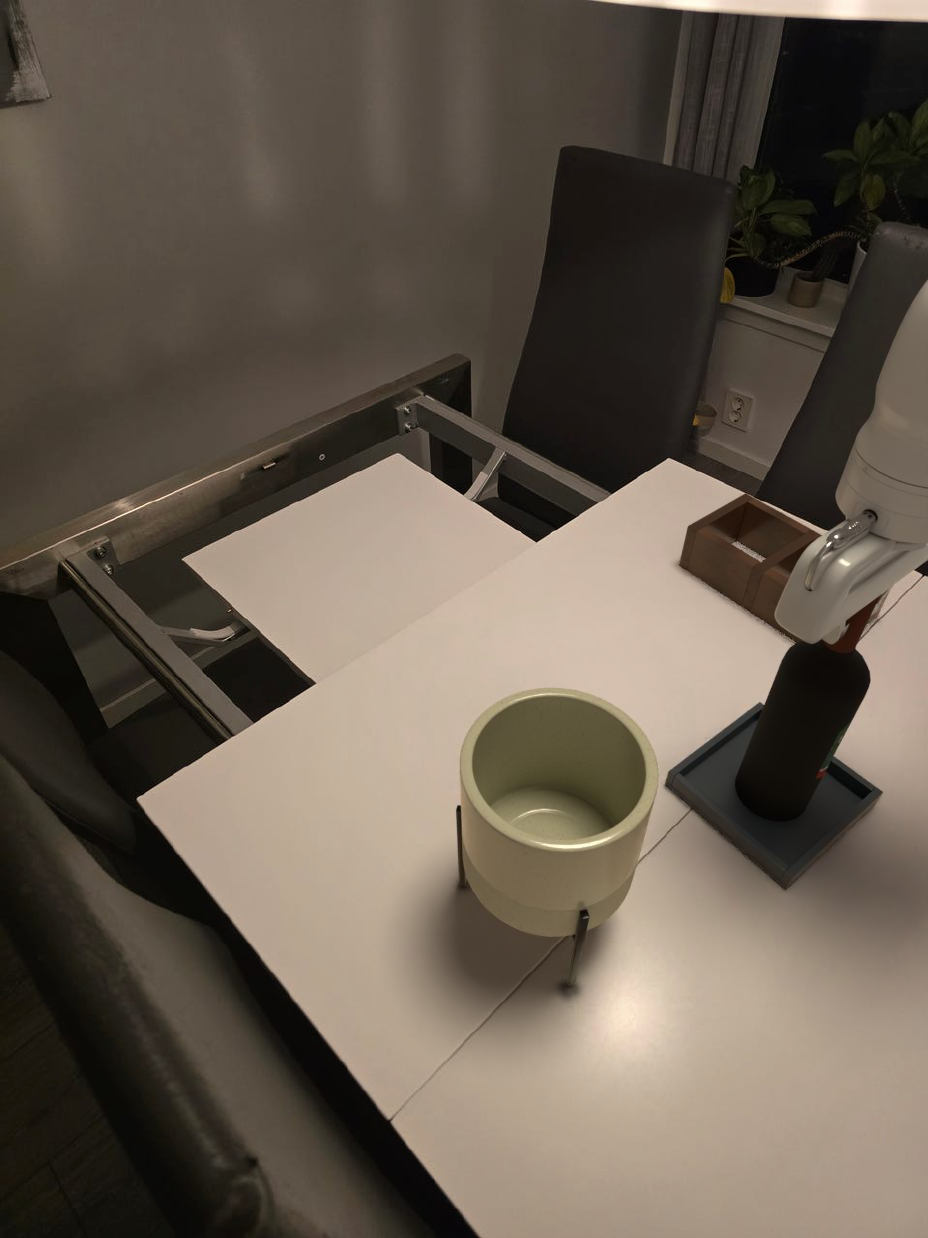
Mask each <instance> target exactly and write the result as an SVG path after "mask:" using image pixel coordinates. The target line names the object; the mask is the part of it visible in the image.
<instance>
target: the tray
mask: <svg viewBox="0 0 928 1238" xmlns="http://www.w3.org/2000/svg"><path fill="white" fill-rule="evenodd" d="M763 707H764V704H763V703H762V702H761V701H759V702H758V703H756V704H754V706H752V707H751V708H750V709H748V710H747V711H746V712H745V713H743V714H742V715H740V716H739V717H737V718H736V719H735V720H734V721H732V722H731V723H729V725H727V726H726V727H724V728H723V729H722V730H721V731H719V732H718V733H716V734H715V735H714V736H712V738H710V739H709V740H708V741H706V742H704V744H702V745H701V746H700V747H698V748H697V749H696V750H694V751H693V752H692V753H690V754H689V755H688V756H686V757H685V758H684V759H683V760H680V761H679V762H678V763H677V764H675V765H674V766H673V767H672V768H671V769H669V770H668V772H667V775H666V779H665V782H664V784H665V785H666V786H667V787H668V788H669V789H670V790H671V791H672V792H674V793H675V795H677V796H678V797H679V798H681V799H682V801H684V802H685V803H686V804H687V805H688V806H689V807H691V808H692V809H693V810H694V811H695V812H696V813H698V814H699V815H700V816H701V817H702V818H703V819H704V820H705V821H706V822H708V823H709V824H710V825H711V826H713V828H714V829H716V830H717V831H718V832H719V833H720V834H721V835H723V837H725V838H726V839H727V840H728V841H729V842H731V843H732V844H733V845H734V846H735V847H736V848H737V849H739V850H740V851H741V852H742V853H743V854H744V855H745V856H747V857H748V858H749V859H750V860H751V861H752V862H753V863H755V865H757V866H758V868H760V869H762V871H764V872H765V874H767V875H768V876H770V877H771V878H772V880H774V881H775V882H776V883H777V884H778V885H780V886H781V887H782V888H783V889H784V890H787V889H788V888H789V887H790V886H791V885H792V884H793V883H794V882H796V880H798V878H800V877H801V876H802V875H803V874H804V873H805V872H806V871H807V870H808V869H809V868H811V866H812V865H813V864H814V863H816V862H817V861H818V859H820V857H822V856H823V855H824V854H825V853H826V852H827V851H828V850H829V849H830V848H832V846H833V845H835V844H836V842H838V840H840V839H841V838H843V836H844V835H845V834H846V833H847V832H849V830H850V829H851V828H853V827H854V826H855V824H857V823H858V822H859V821H860V820H861V819H862V818H864V816H865V815H867V813H868V812H870V811H871V809H873V808H874V806H876V804H877V802H878V801H879V800H880V798H881V796H882V795H883V793H884V791H883V790H881V789H880V788H879V787H878V786H875V784H873V783H871V782H870V781H869V780H867V779H866V778H865V777H863V776H862V775H860V774H859V773H858V772H856V770H854V769H852V768H851V767H850V766H848V765H847V764H845V763H844V762H843V761H841V760H840V759H839V758H838V757H836V756H835V755H834V756H833V758H832V760H831V762H830V764H829V766H828V768H827V769H826V771H825V773H824V775H823V777H822V779H821V781H820V783H819V785H818V787H817V788H816V790H815V792H814V794H813V796H812V798H811V800H810V802H809V804H808V806H807V807H806V809H805V811H804V812H803V813H802V814H801V815H800V816H799V817H798V818H795V819H792V820H789V821H773V820H768V819H764V818H762V817H760V816H758V815H756V814H754V813H753V812H752V811H750V810H749V809H748V808H747V807H746V806H745V805H744V804H743V803H742V801H741V800H740V798H739V797H738V795H737V792H736V788H735V779H736V776H737V773H738V770H739V768H740V765H741V763H742V760H743V758H744V755H745V753H746V750H747V748H748V745H749V742H750V740H751V737H752V735H753V732H754V730H755V727H756V725H757V722H758V720H759V717H760V715H761V712H762V709H763Z"/></svg>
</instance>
